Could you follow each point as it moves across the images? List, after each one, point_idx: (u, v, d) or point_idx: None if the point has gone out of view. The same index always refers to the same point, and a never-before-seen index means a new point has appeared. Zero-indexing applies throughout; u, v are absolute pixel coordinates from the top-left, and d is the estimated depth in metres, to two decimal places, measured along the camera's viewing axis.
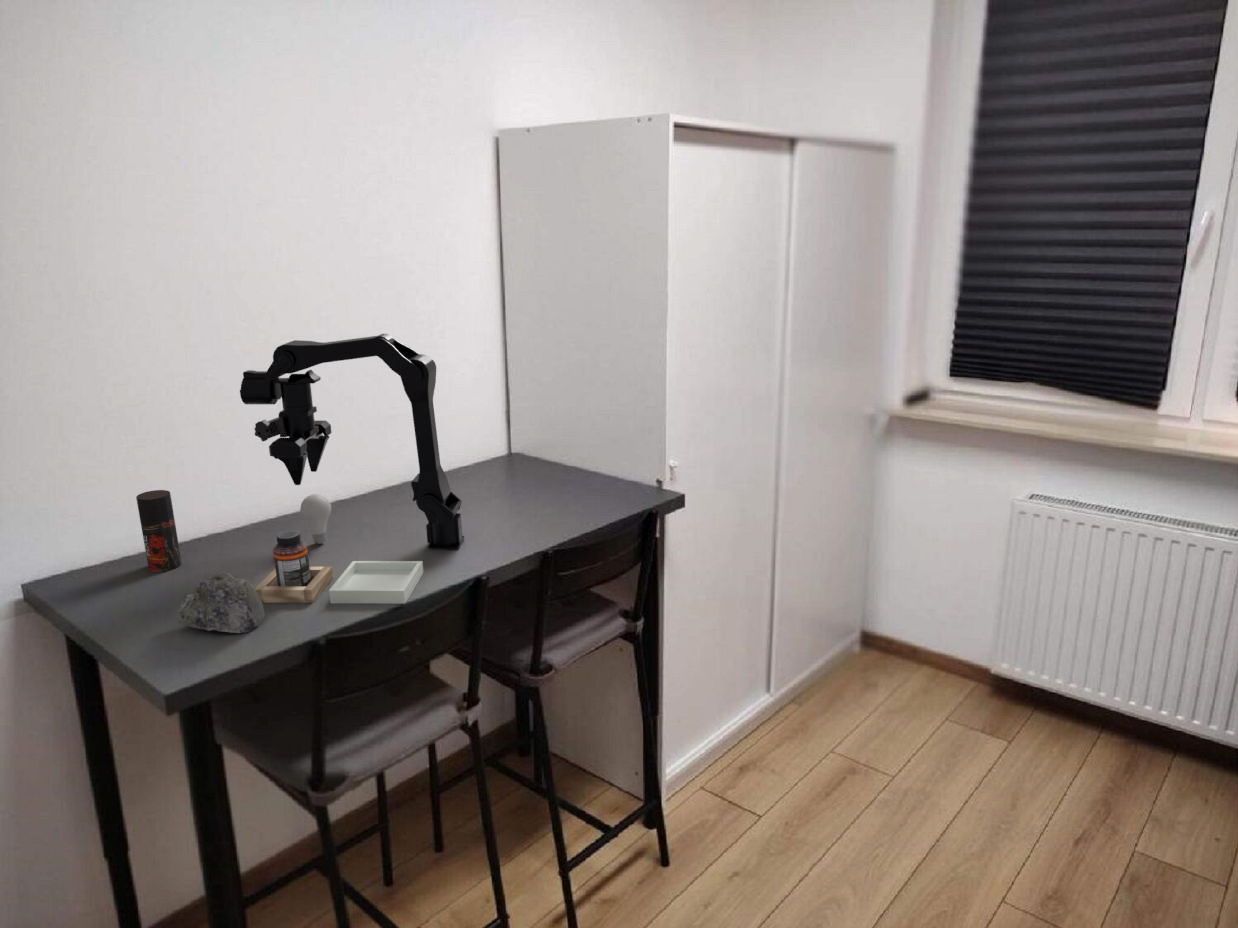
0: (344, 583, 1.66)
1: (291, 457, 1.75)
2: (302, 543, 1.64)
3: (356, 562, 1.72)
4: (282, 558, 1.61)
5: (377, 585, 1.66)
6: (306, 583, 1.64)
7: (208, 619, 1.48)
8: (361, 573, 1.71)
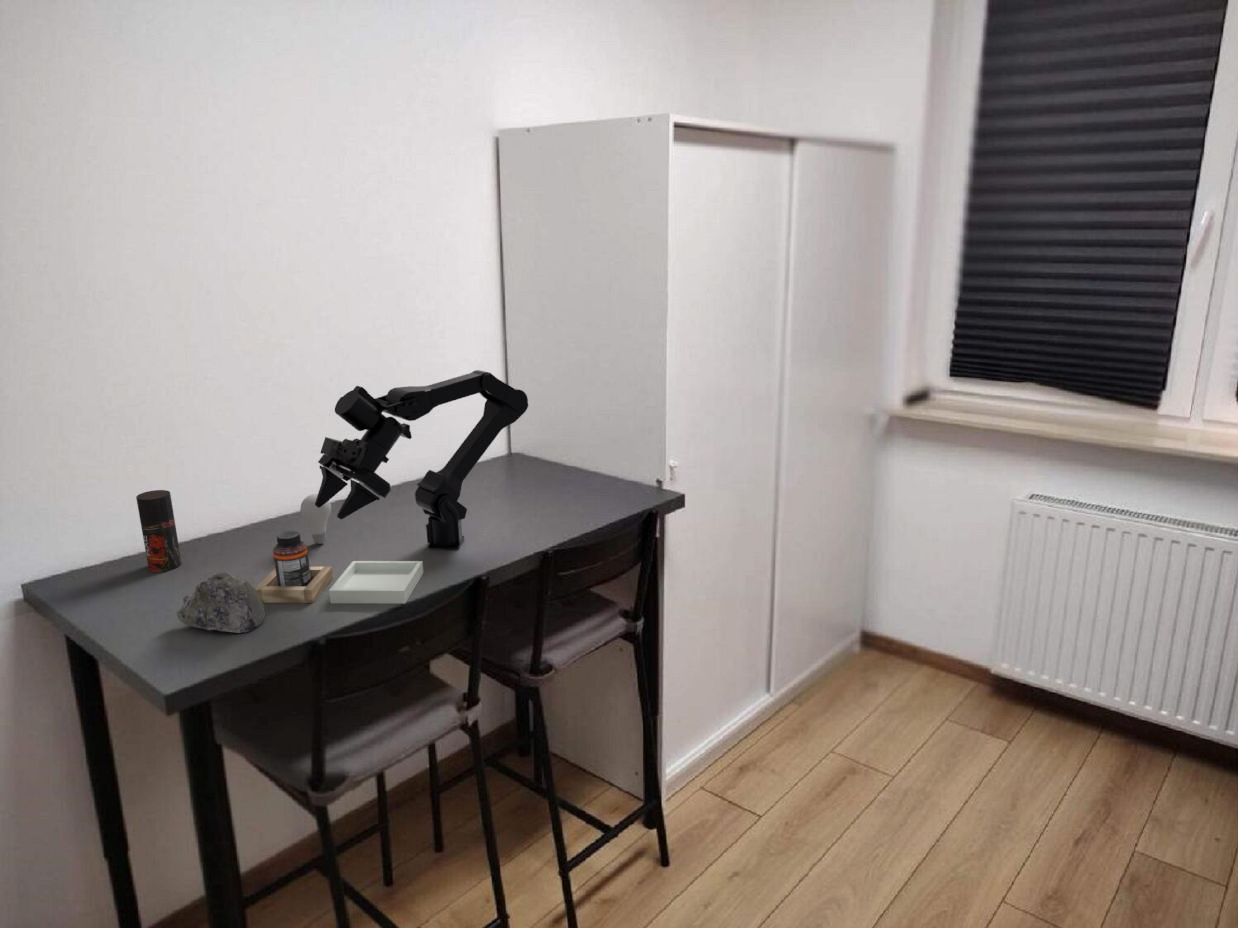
0: (344, 583, 1.66)
1: (372, 494, 1.64)
2: (302, 543, 1.64)
3: (356, 562, 1.72)
4: (282, 558, 1.61)
5: (377, 585, 1.66)
6: (306, 583, 1.64)
7: (209, 619, 1.48)
8: (361, 573, 1.71)
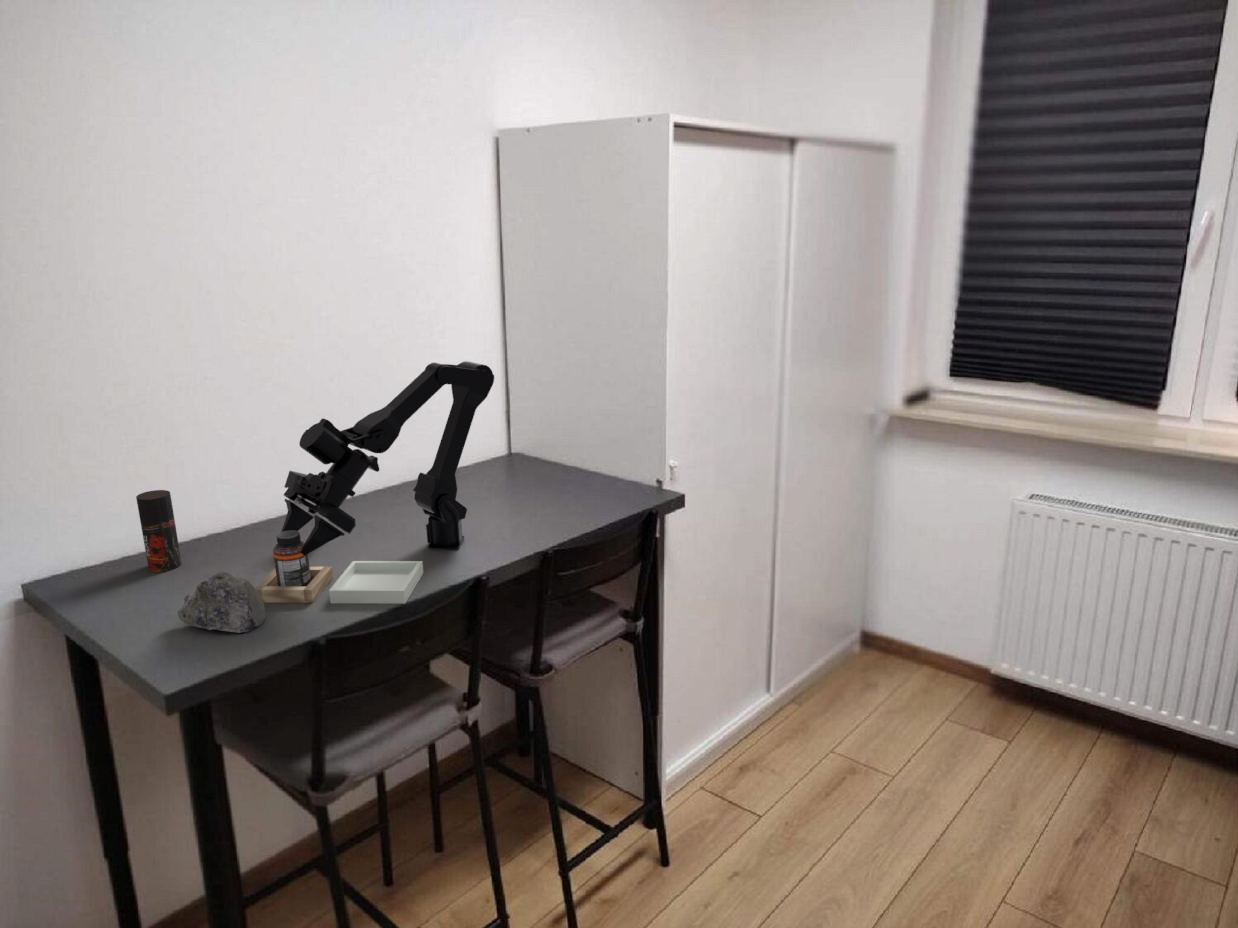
0: (344, 583, 1.66)
1: (336, 529, 1.61)
2: (302, 543, 1.64)
3: (356, 562, 1.72)
4: (282, 558, 1.61)
5: (377, 585, 1.66)
6: (306, 583, 1.64)
7: (209, 618, 1.48)
8: (361, 573, 1.71)
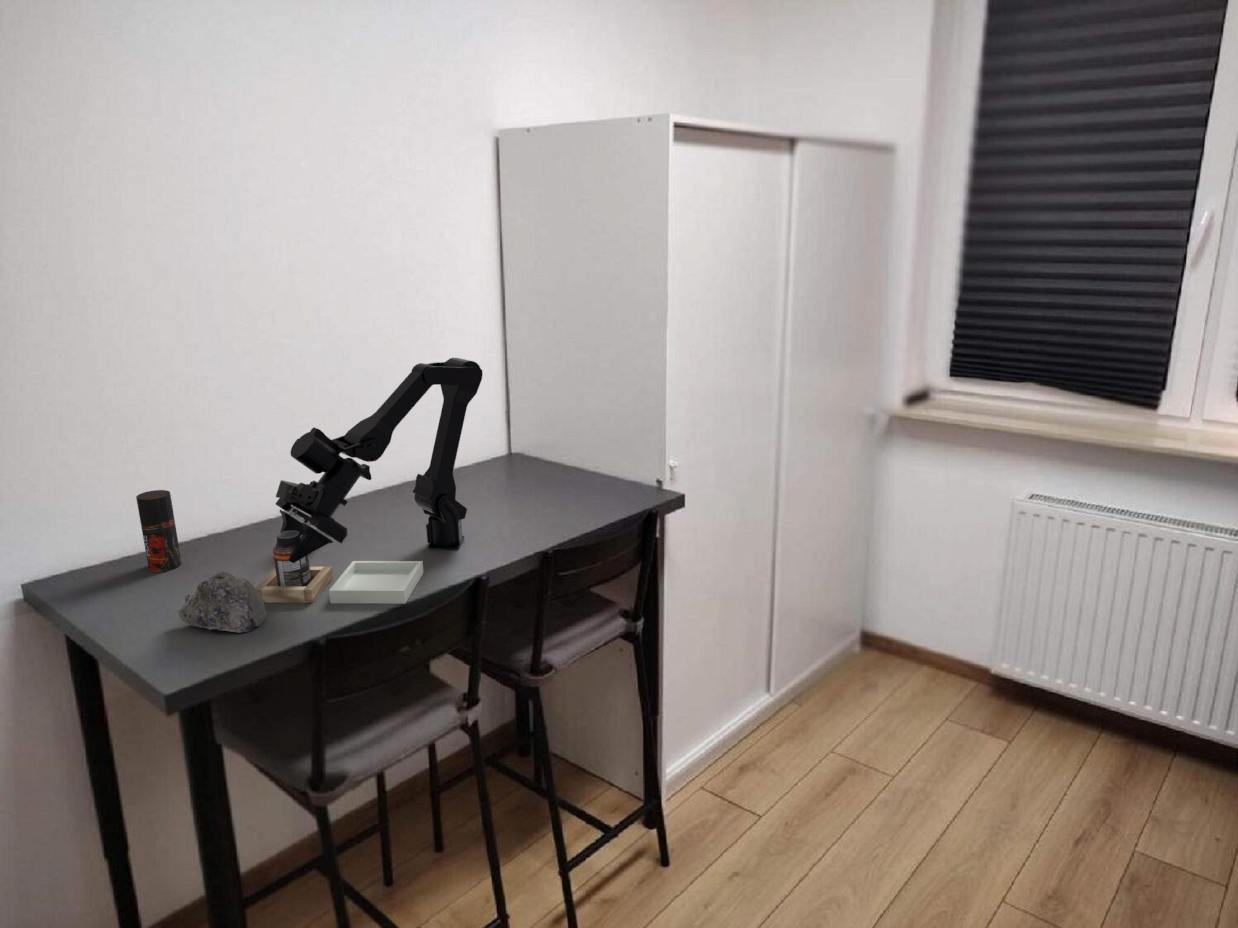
0: (344, 583, 1.66)
1: (325, 537, 1.61)
2: None
3: (356, 562, 1.72)
4: (282, 558, 1.61)
5: (377, 585, 1.66)
6: (306, 583, 1.64)
7: (209, 618, 1.48)
8: (361, 573, 1.71)
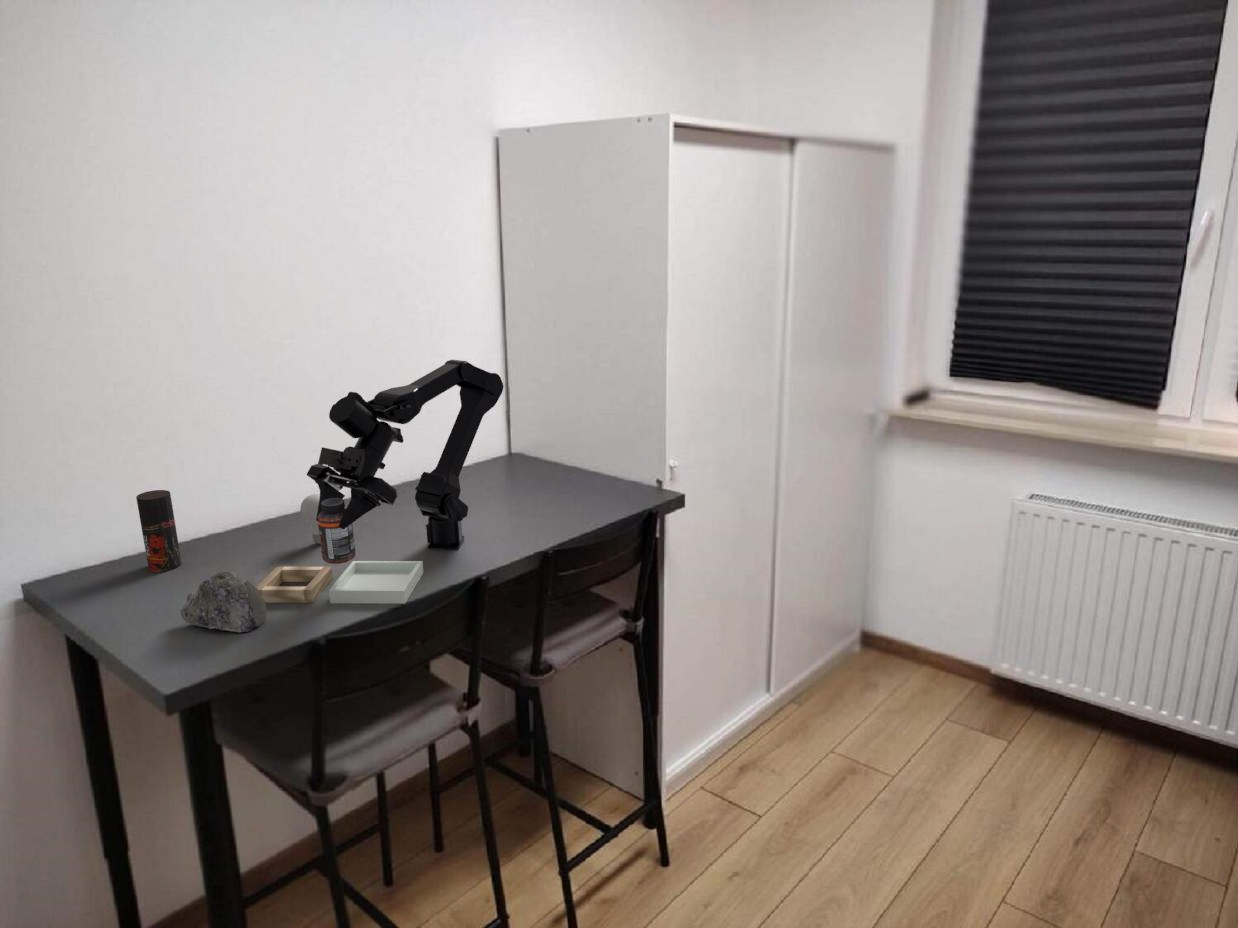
0: (344, 583, 1.66)
1: (374, 500, 1.60)
2: None
3: (356, 562, 1.72)
4: (331, 526, 1.59)
5: (377, 585, 1.66)
6: (353, 550, 1.63)
7: (210, 617, 1.48)
8: (361, 573, 1.71)
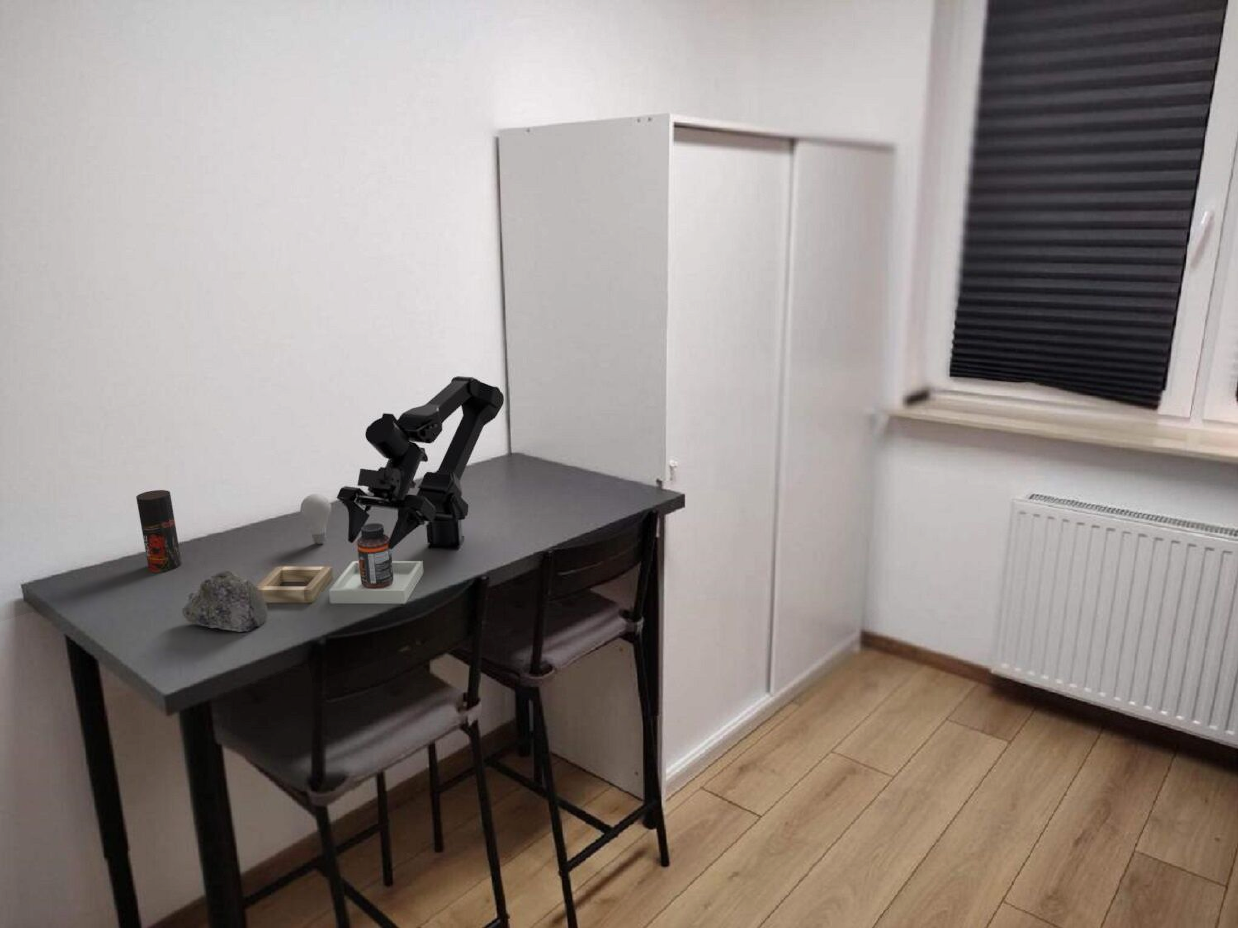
0: (344, 583, 1.66)
1: (420, 519, 1.64)
2: (384, 534, 1.66)
3: (356, 562, 1.72)
4: (374, 550, 1.62)
5: None
6: (392, 573, 1.66)
7: (211, 617, 1.49)
8: None
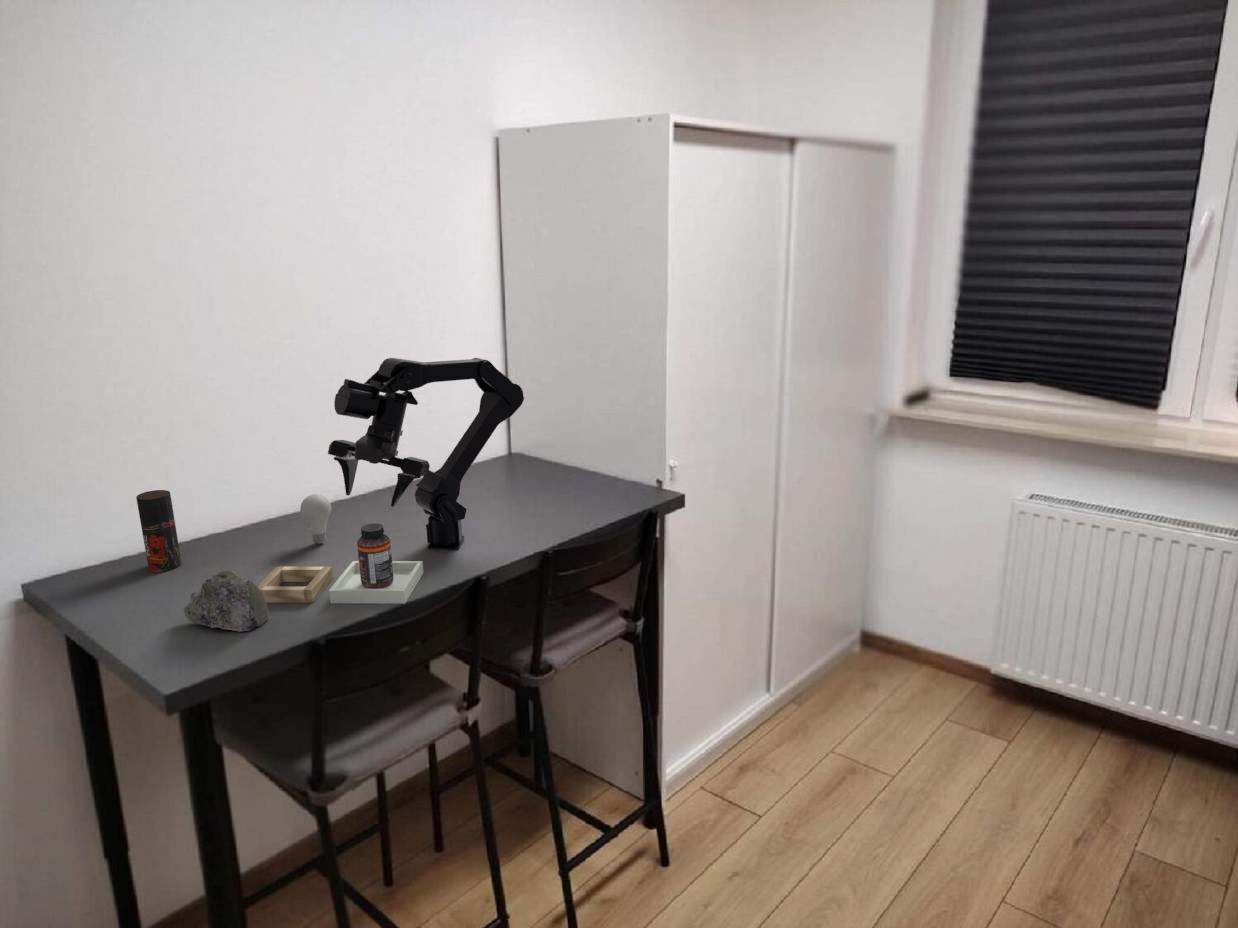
0: (344, 583, 1.66)
1: (418, 476, 1.74)
2: (384, 534, 1.65)
3: (356, 562, 1.72)
4: (374, 550, 1.62)
5: None
6: (392, 573, 1.66)
7: (212, 616, 1.49)
8: None
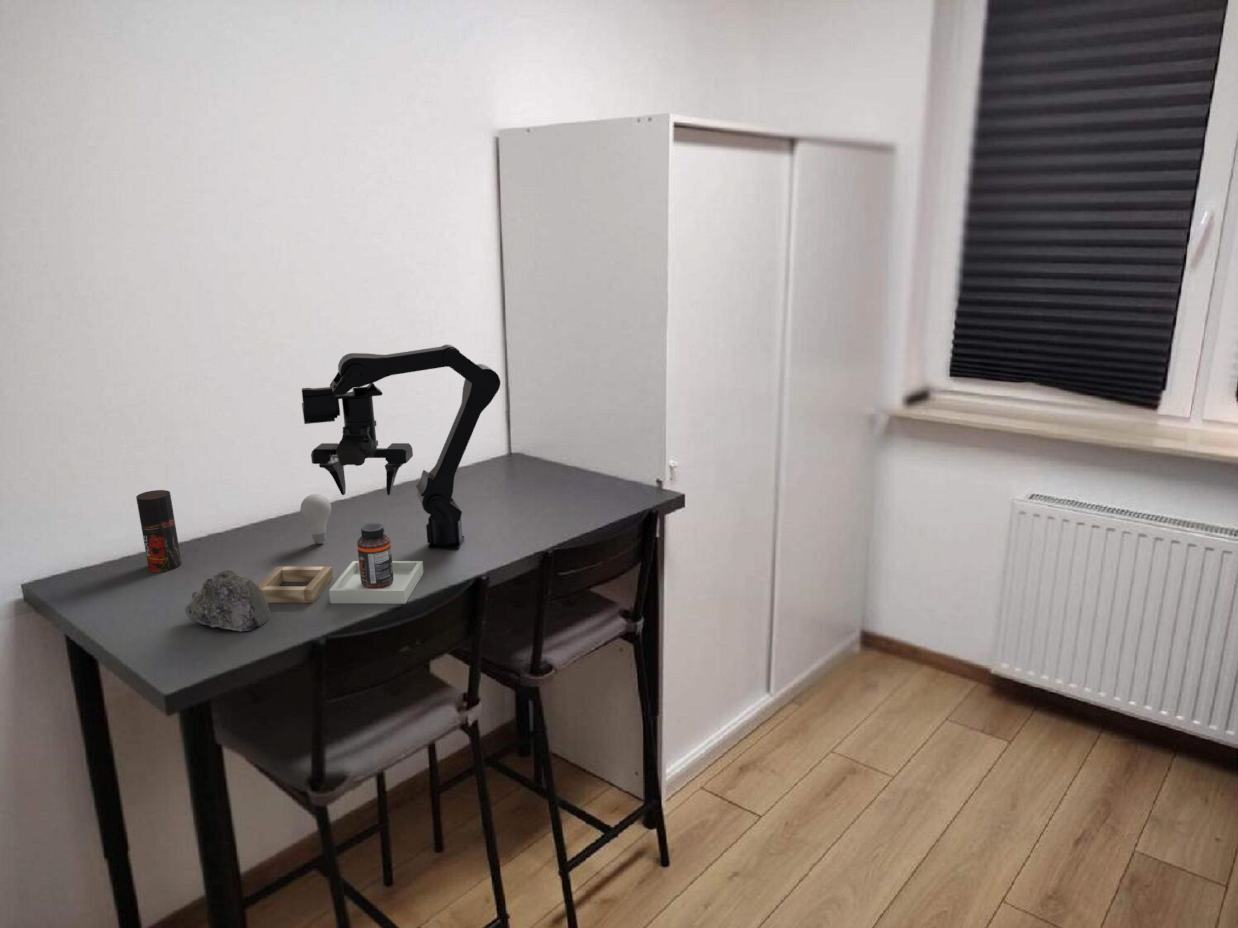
0: (344, 583, 1.66)
1: None
2: (384, 534, 1.65)
3: (356, 562, 1.72)
4: (374, 550, 1.62)
5: None
6: (392, 573, 1.66)
7: (212, 616, 1.49)
8: None
